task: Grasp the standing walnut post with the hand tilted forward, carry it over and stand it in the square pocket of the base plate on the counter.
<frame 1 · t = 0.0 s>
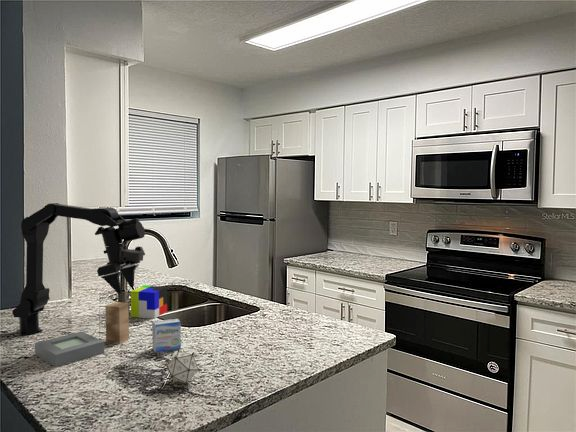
hand: (126, 290, 147), 15 cm above the worktop, tool pointing down, fingers open, 9 cm apart
game die: (182, 383, 114), on the worktop
medicine box: (166, 349, 137), on the worktop
base plate: (69, 353, 132), on the worktop
post: (117, 340, 143), on the worktop
puzzle toy: (149, 314, 174), on the worktop
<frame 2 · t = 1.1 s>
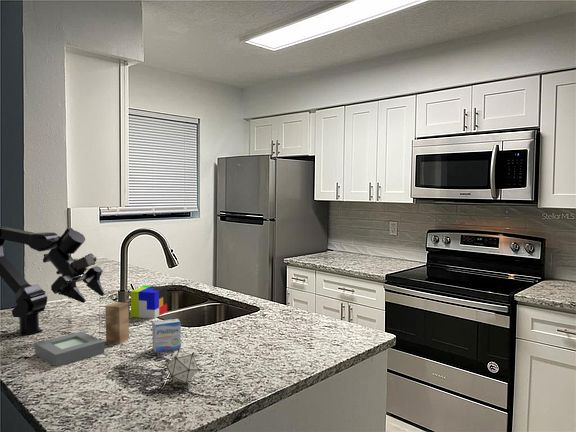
hand: (94, 298, 144), 13 cm above the worktop, tool tilted 45°, fingers open, 9 cm apart
nothing on the worktop moved.
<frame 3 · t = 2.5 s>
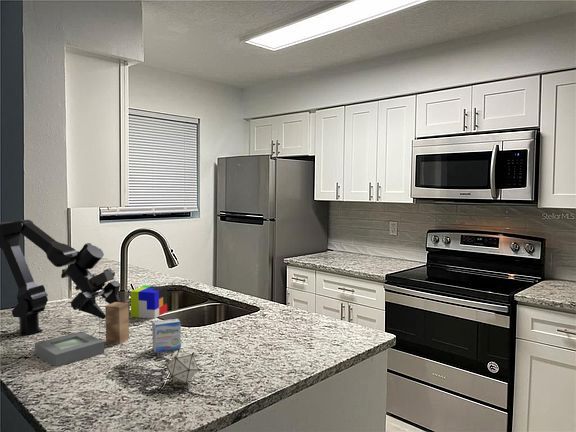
hand: (113, 313, 143), 9 cm above the worktop, tool tilted 45°, fingers open, 9 cm apart
nothing on the worktop moved.
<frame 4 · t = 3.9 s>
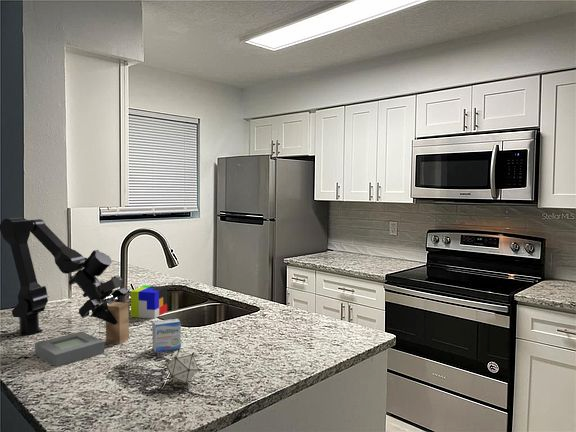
hand: (121, 321, 143), 7 cm above the worktop, tool tilted 45°, fingers closed on post, 5 cm apart
post: (117, 340, 143), on the worktop, touching gripper
everything else where it was.
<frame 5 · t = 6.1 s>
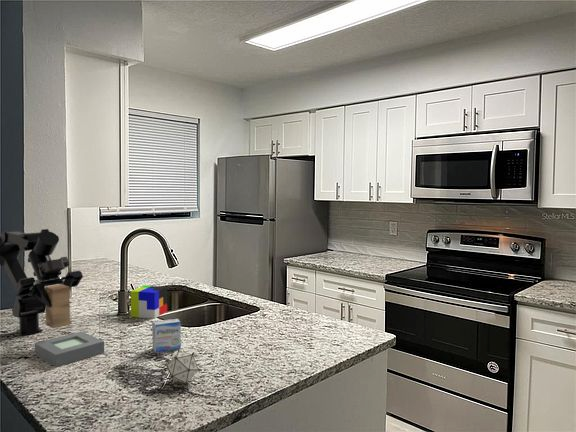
hand: (59, 304, 137), 13 cm above the worktop, tool tilted 45°, fingers closed on post, 5 cm apart
post: (57, 324, 138), point 7 cm above the worktop, touching gripper
everything else where it was.
when the fingers open (10 cm above the worktop, at t = 8.3 s): post drops 1 cm, resting on base plate.
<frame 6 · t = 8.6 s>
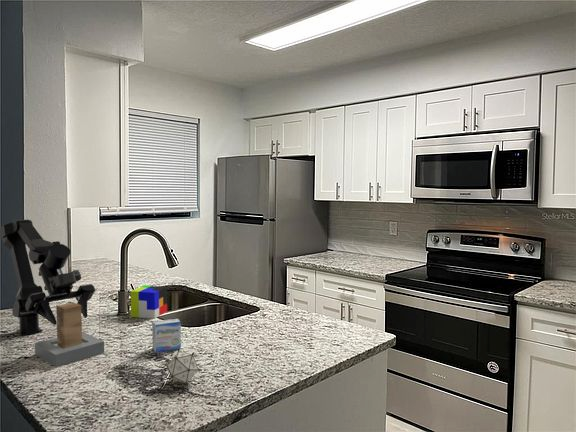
hand: (71, 320, 131), 10 cm above the worktop, tool tilted 45°, fingers open, 9 cm apart
post: (69, 344, 132), point 3 cm above the worktop, touching base plate
everything else where it was.
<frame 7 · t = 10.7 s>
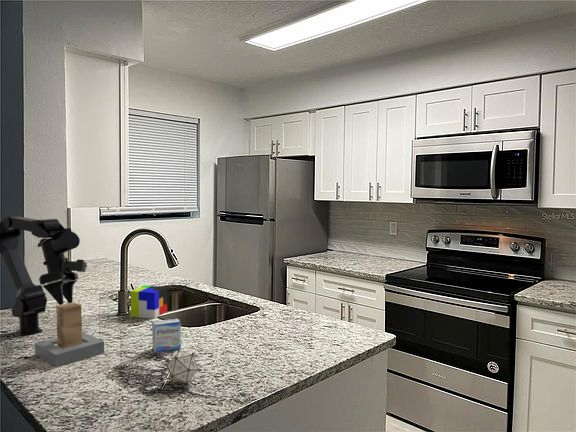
hand: (66, 303, 141), 12 cm above the worktop, tool tilted 20°, fingers open, 9 cm apart
nothing on the worktop moved.
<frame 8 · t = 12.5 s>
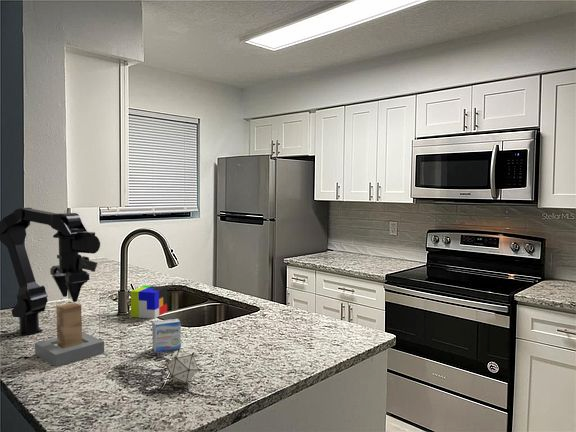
hand: (70, 299, 145), 13 cm above the worktop, tool pointing down, fingers open, 9 cm apart
nothing on the worktop moved.
at the end: post 0.0 cm off-centre on the base plate, point 2.6 cm above the base plate's base; post tilted 0°; the gripper is holding nothing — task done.
